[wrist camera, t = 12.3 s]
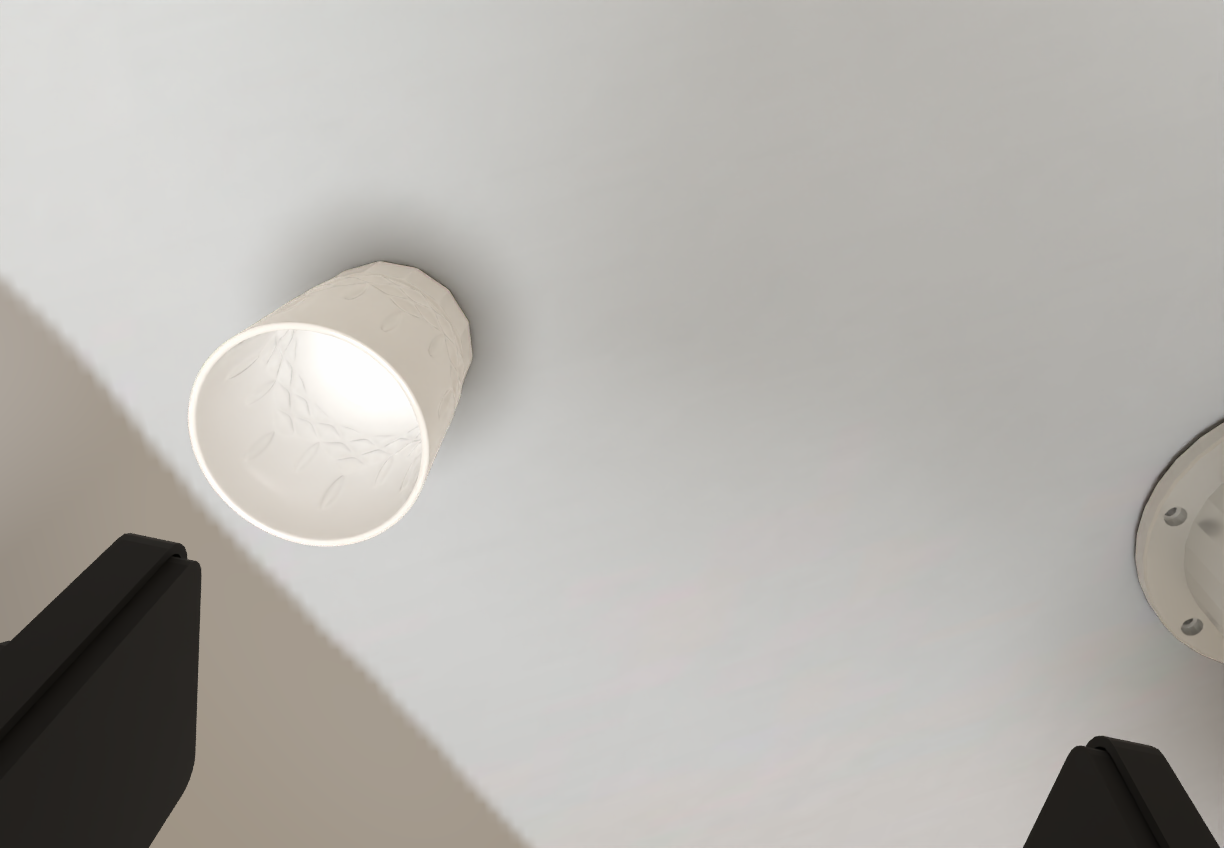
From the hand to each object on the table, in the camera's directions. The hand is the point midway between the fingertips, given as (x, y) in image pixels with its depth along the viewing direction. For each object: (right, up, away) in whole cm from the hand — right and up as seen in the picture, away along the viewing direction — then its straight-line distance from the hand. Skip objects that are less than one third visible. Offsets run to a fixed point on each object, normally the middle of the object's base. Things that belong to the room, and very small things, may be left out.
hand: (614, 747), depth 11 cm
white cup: (-9, +7, +31) cm, 33 cm away
